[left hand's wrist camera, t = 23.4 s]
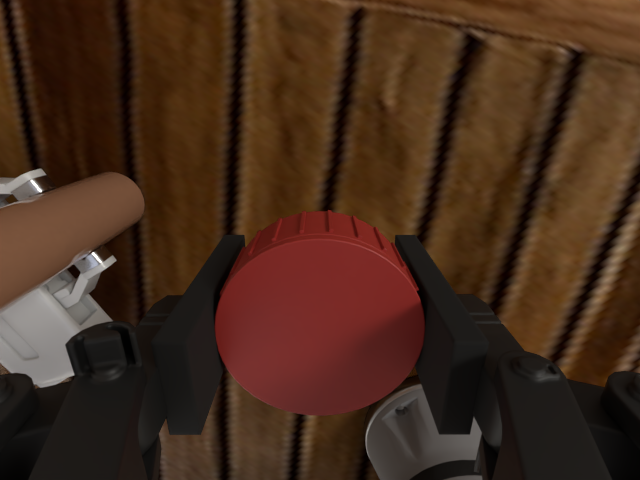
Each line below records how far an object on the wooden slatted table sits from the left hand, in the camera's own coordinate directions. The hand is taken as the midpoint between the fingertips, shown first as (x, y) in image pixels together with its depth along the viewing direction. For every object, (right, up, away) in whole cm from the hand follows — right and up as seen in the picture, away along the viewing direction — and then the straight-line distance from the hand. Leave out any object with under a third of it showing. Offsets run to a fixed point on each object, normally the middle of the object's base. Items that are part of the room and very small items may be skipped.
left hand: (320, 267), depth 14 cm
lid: (0, -1, -4) cm, 4 cm away
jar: (-18, +5, +17) cm, 25 cm away
